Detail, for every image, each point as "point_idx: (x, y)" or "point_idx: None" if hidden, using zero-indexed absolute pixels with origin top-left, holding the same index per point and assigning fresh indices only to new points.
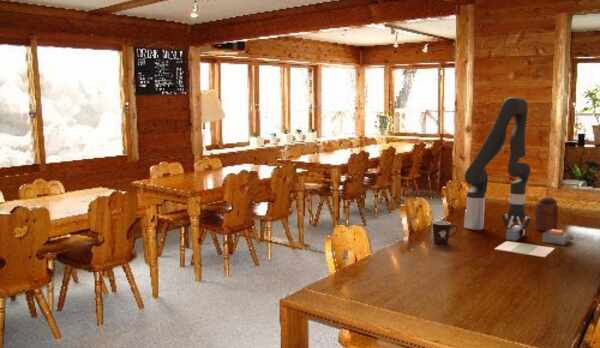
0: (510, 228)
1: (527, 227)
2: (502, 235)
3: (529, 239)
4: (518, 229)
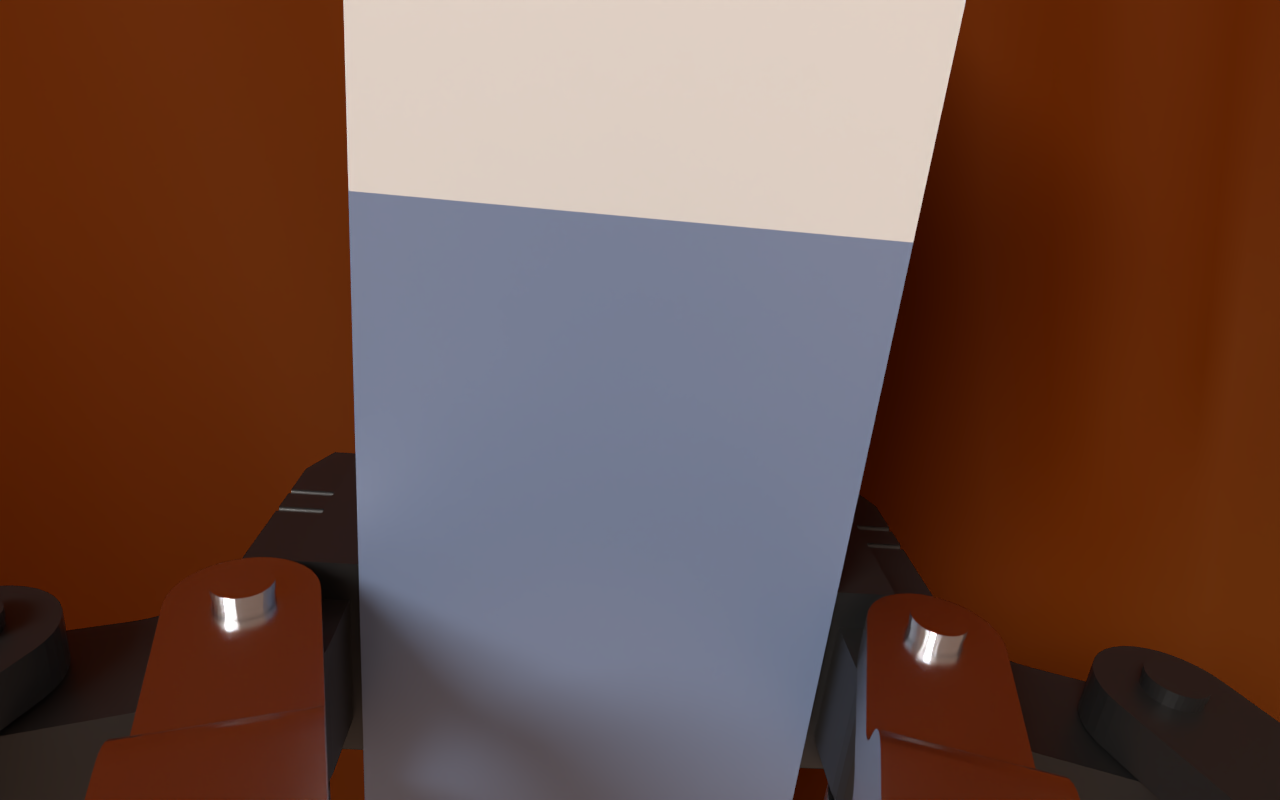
0: (374, 788)
1: (1209, 688)
2: (134, 400)
3: (1030, 476)
4: (743, 788)
